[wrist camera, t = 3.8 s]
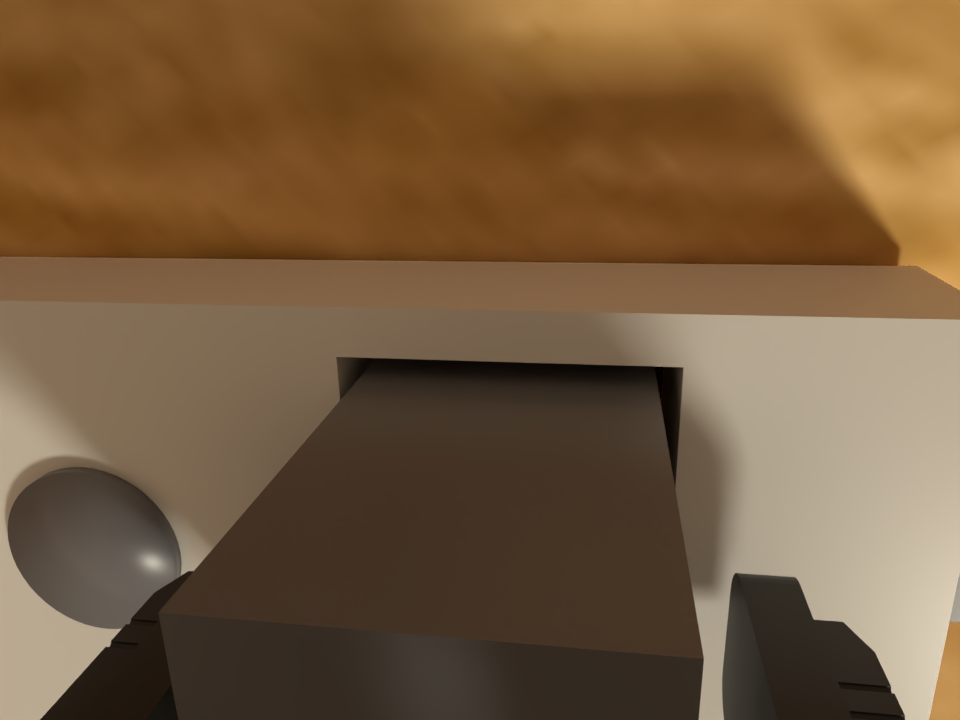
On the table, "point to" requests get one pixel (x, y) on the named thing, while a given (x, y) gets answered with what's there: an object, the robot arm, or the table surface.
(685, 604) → the charcoal plug
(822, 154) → the table surface
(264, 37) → the table surface
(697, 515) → the power strip
